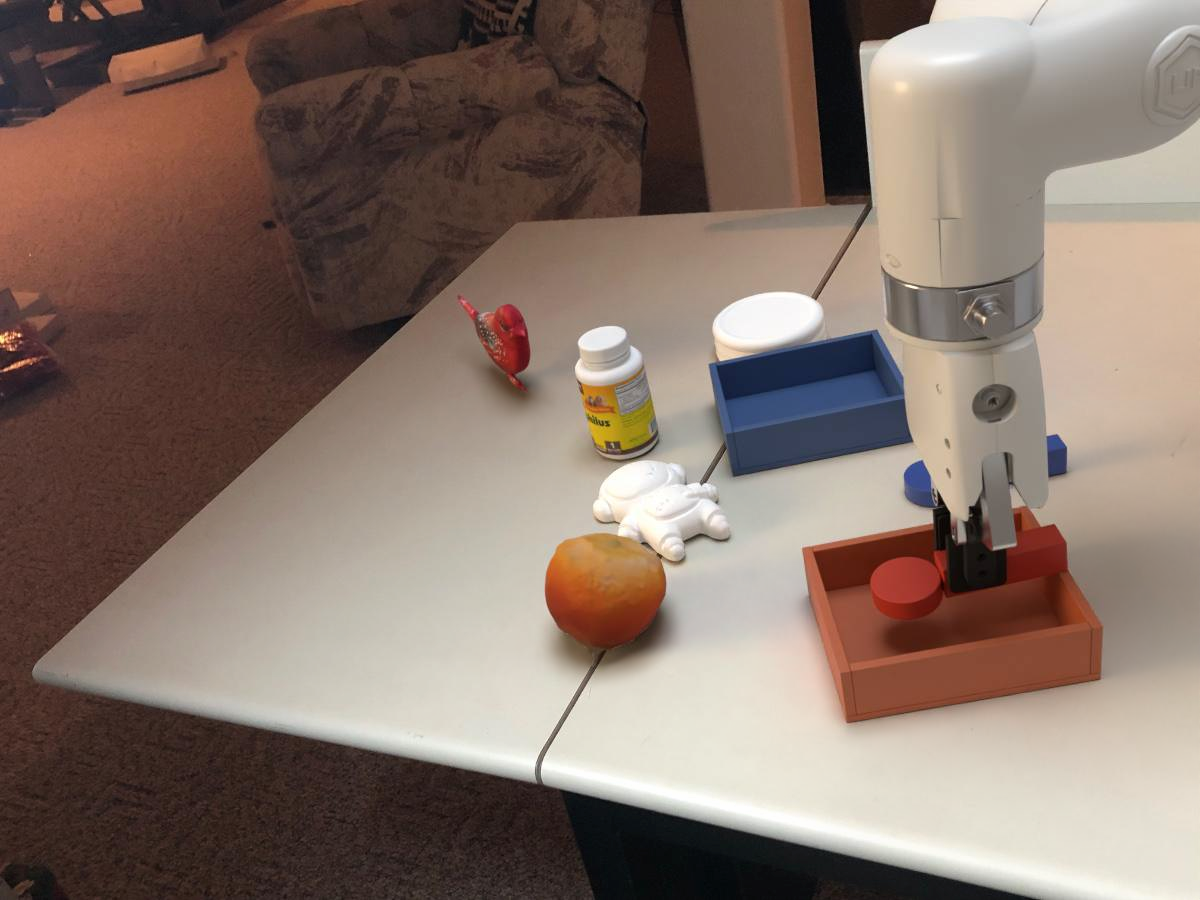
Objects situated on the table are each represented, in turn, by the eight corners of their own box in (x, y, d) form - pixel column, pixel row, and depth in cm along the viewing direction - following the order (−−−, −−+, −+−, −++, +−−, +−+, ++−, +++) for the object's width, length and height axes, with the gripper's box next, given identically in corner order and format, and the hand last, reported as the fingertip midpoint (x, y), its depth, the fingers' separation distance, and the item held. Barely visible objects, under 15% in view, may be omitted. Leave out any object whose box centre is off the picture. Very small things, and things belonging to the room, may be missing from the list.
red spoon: (1049, 540, 64) (1047, 511, 63) (1076, 583, 61) (1074, 554, 60) (866, 582, 66) (861, 555, 65) (882, 627, 62) (877, 599, 61)
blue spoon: (1051, 450, 78) (1051, 425, 77) (1073, 481, 75) (1074, 455, 73) (898, 479, 79) (896, 455, 78) (913, 512, 76) (911, 486, 74)
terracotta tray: (1027, 554, 70) (1027, 504, 68) (1100, 678, 60) (1103, 626, 58) (808, 594, 71) (801, 547, 69) (846, 723, 62) (840, 673, 59)
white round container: (695, 361, 100) (688, 327, 98) (766, 314, 105) (761, 281, 103) (777, 388, 93) (772, 353, 91) (850, 336, 98) (846, 302, 96)
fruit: (506, 633, 72) (529, 520, 70) (596, 621, 77) (620, 516, 75) (581, 689, 66) (608, 568, 64) (672, 672, 71) (700, 560, 70)
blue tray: (880, 370, 92) (877, 328, 90) (917, 440, 82) (914, 396, 80) (715, 403, 93) (708, 363, 91) (733, 476, 84) (725, 433, 82)
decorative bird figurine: (533, 417, 98) (504, 320, 92) (462, 353, 112) (433, 265, 106) (560, 404, 99) (533, 307, 93) (486, 343, 113) (459, 255, 107)
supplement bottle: (584, 444, 92) (556, 339, 87) (640, 417, 94) (615, 313, 88) (614, 471, 88) (586, 362, 82) (672, 443, 89) (649, 334, 84)
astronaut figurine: (642, 580, 76) (634, 547, 74) (580, 499, 85) (572, 468, 84) (752, 531, 78) (745, 498, 76) (678, 457, 87) (672, 426, 86)
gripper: (1107, 346, 46) (1091, 656, 56) (985, 215, 60) (990, 484, 69) (930, 380, 47) (945, 681, 57) (849, 243, 60) (873, 506, 70)
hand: (970, 571), depth 63 cm, fingers closed on red spoon
